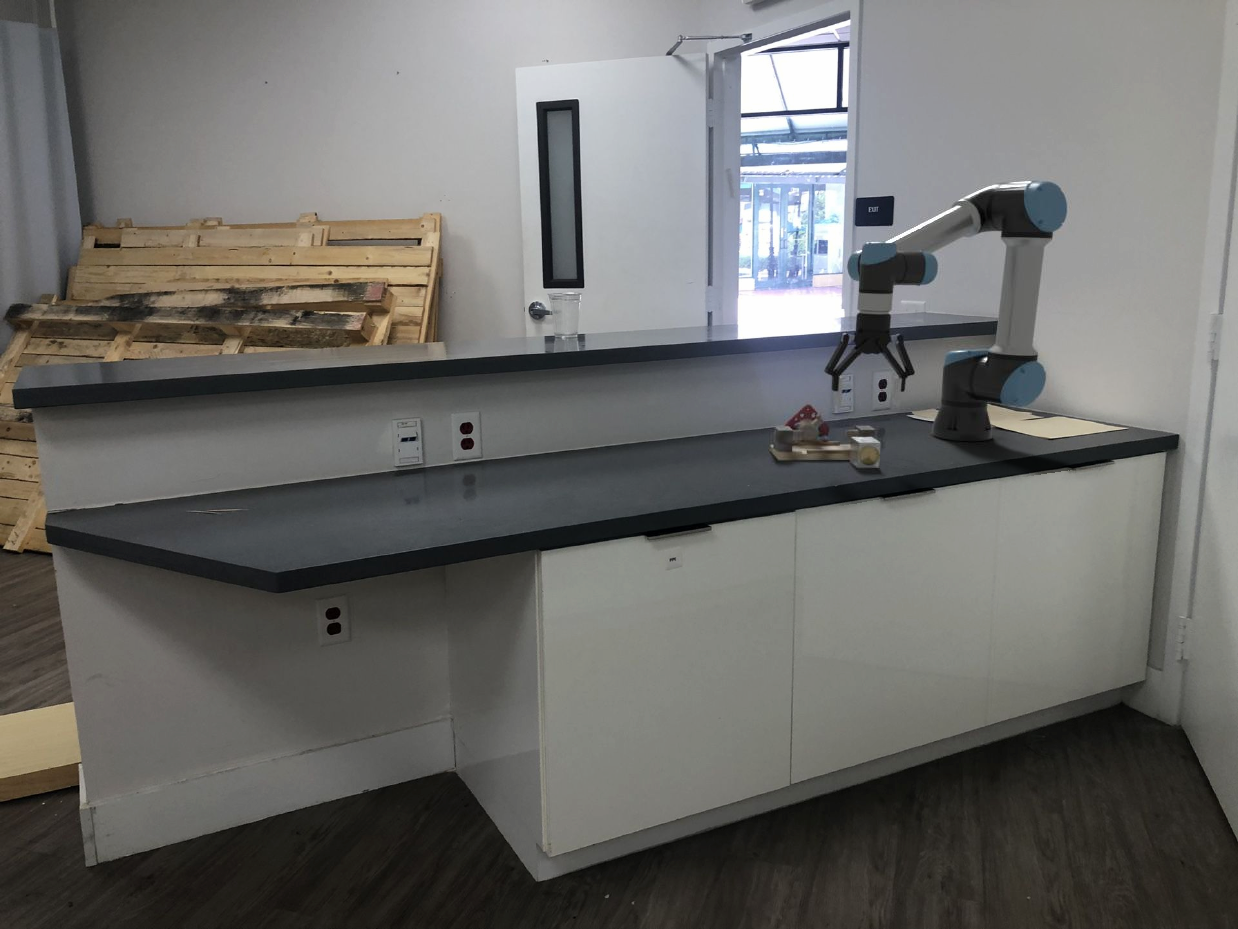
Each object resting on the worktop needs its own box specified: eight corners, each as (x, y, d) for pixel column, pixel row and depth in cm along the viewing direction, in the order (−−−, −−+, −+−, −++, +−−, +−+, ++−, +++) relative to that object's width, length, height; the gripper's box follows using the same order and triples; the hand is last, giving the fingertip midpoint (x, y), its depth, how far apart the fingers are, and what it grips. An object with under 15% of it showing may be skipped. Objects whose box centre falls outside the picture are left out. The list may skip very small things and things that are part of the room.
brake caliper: (824, 433, 250) (831, 401, 240) (828, 466, 243) (835, 434, 233) (780, 432, 250) (785, 401, 241) (783, 465, 243) (788, 434, 234)
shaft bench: (865, 450, 240) (867, 423, 239) (878, 459, 231) (880, 431, 229) (769, 450, 239) (771, 424, 237) (778, 460, 229) (780, 432, 228)
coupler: (848, 461, 229) (850, 436, 228) (869, 460, 229) (870, 436, 228) (858, 469, 221) (860, 443, 220) (879, 468, 222) (881, 443, 220)
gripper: (922, 311, 222) (914, 403, 226) (815, 310, 220) (809, 402, 225) (934, 314, 214) (925, 408, 219) (823, 312, 213) (817, 407, 218)
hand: (866, 405), depth 222 cm, fingers open, 13 cm apart
